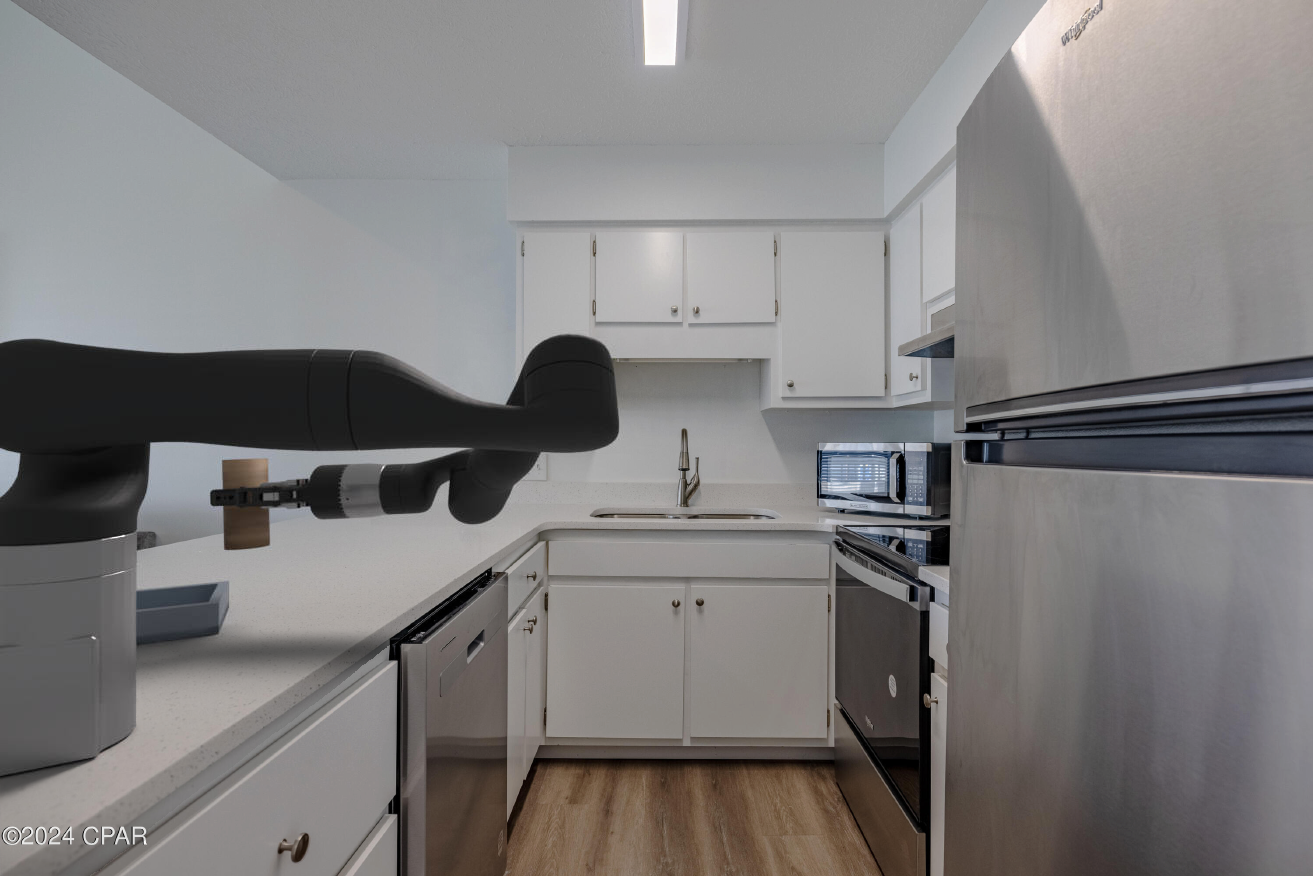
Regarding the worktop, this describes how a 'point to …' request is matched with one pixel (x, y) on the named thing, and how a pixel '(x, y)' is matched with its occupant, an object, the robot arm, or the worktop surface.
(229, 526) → the canister
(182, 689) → the worktop surface
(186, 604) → the tray
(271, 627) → the worktop surface
